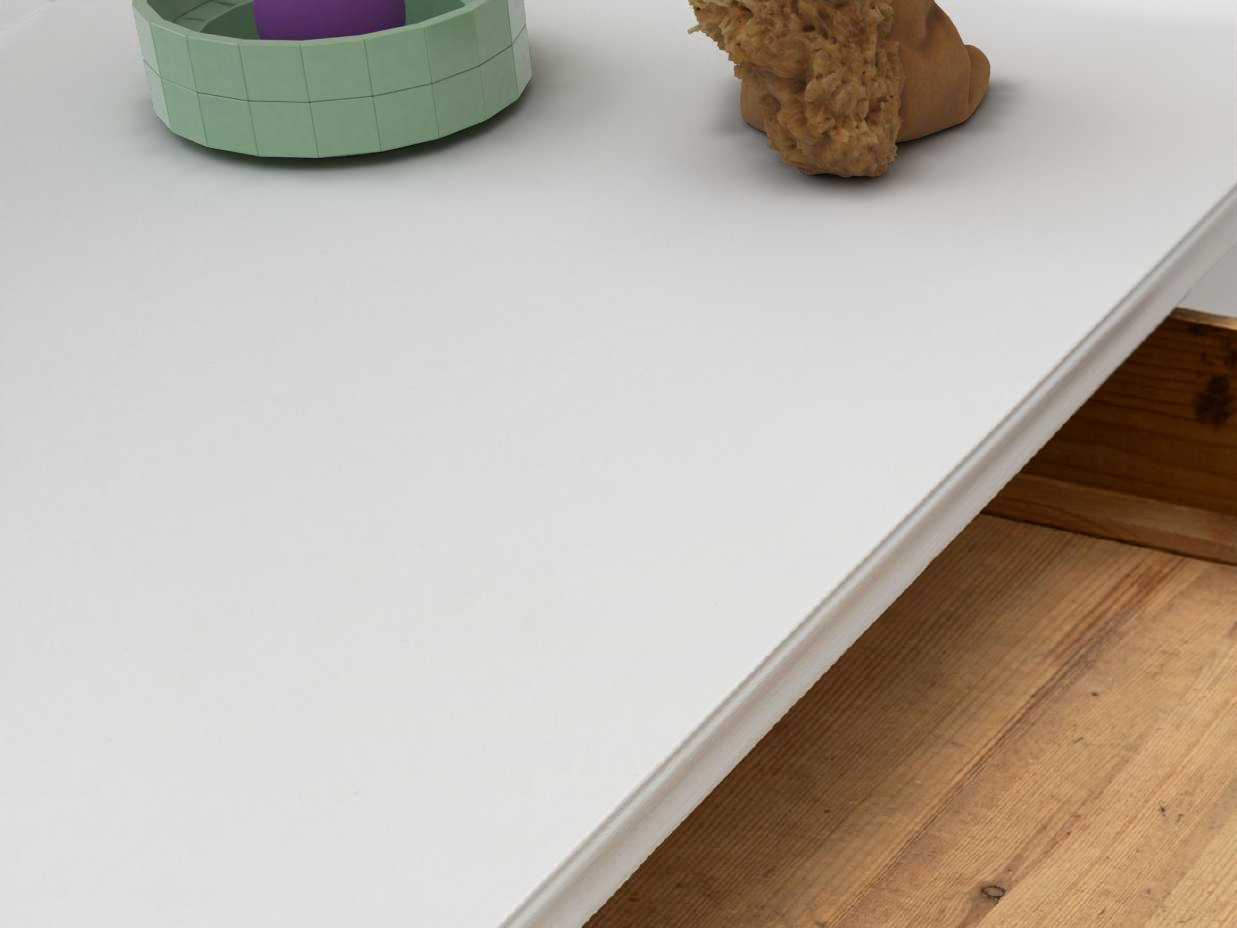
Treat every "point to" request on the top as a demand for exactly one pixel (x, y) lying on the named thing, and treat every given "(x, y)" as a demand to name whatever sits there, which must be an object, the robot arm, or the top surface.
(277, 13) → the ball
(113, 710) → the top surface
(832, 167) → the stuffed squirrel
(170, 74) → the bowl
